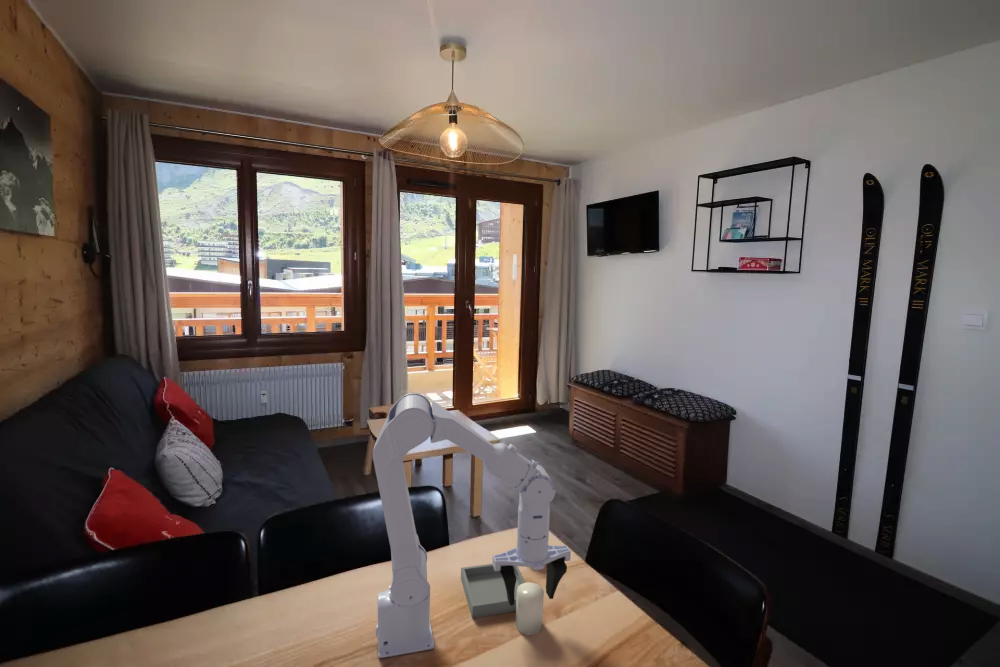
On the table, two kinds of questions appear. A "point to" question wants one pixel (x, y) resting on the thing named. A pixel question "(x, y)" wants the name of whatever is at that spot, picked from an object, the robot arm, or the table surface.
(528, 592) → the capsule
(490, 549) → the table surface
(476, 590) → the tray
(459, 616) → the table surface
